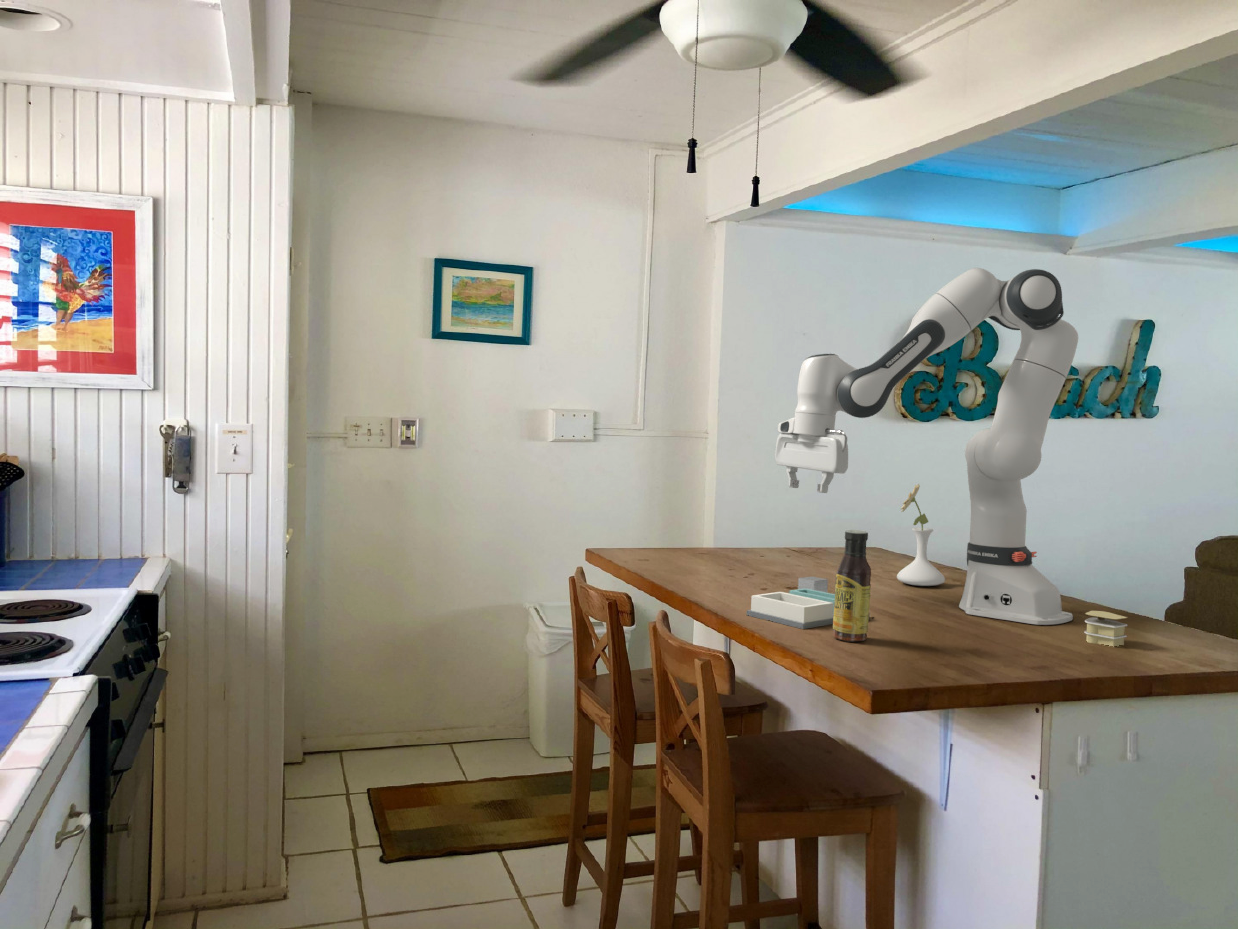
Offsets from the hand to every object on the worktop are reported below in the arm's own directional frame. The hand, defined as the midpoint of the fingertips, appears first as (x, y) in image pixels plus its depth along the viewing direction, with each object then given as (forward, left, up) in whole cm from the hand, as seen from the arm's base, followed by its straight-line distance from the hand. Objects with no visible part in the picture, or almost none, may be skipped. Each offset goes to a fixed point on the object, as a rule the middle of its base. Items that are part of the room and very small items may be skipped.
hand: (807, 490), depth 213 cm
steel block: (-2, -1, -24) cm, 25 cm away
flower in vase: (-2, -40, -25) cm, 47 cm away
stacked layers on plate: (-58, -17, -25) cm, 65 cm away
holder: (-13, +13, -24) cm, 30 cm away
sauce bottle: (-31, +22, -25) cm, 45 cm away
